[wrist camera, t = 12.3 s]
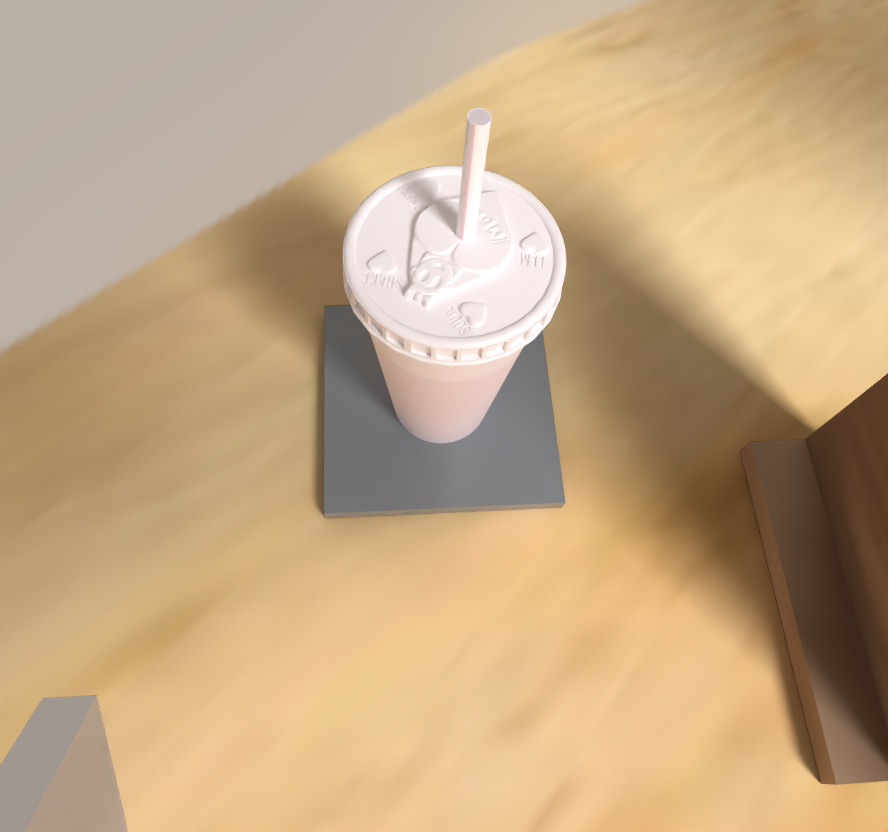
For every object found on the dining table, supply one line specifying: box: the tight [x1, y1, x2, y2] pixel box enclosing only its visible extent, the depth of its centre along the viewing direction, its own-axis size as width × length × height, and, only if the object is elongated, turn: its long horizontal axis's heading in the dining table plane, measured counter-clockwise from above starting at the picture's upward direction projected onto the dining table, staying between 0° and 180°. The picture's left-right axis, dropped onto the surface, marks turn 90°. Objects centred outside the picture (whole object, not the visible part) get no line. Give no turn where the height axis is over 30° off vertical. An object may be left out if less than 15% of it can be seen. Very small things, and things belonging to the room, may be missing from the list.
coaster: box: [324, 305, 565, 518], centre depth 30 cm, size 9×9×1 cm
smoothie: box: [342, 108, 566, 443], centre depth 23 cm, size 6×6×14 cm
